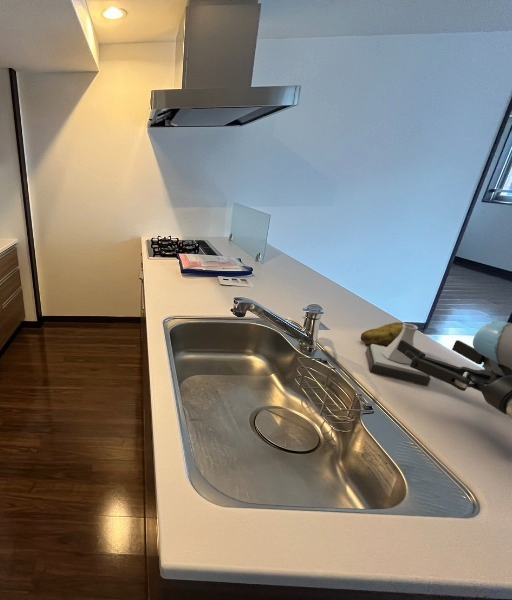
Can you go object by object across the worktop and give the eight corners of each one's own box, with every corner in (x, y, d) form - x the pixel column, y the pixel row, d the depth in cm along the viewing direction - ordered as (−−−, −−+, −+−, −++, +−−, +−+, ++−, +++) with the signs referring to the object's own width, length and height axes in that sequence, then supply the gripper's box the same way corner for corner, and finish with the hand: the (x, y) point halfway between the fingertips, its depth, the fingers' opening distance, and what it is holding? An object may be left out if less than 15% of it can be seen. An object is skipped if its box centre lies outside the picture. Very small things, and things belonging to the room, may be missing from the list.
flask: (411, 354, 90) (424, 323, 86) (418, 367, 85) (432, 334, 81) (379, 348, 94) (390, 317, 90) (383, 360, 88) (395, 328, 84)
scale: (419, 364, 92) (423, 353, 91) (430, 387, 83) (435, 376, 81) (365, 352, 98) (368, 342, 97) (369, 372, 89) (373, 361, 87)
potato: (355, 334, 108) (362, 313, 105) (404, 343, 102) (413, 321, 99) (359, 346, 101) (367, 323, 98) (412, 356, 96) (421, 333, 93)
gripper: (449, 416, 63) (372, 357, 83) (582, 418, 62) (472, 357, 82) (465, 386, 60) (381, 331, 80) (604, 387, 59) (485, 332, 79)
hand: (427, 344), depth 81 cm, fingers open, 13 cm apart
